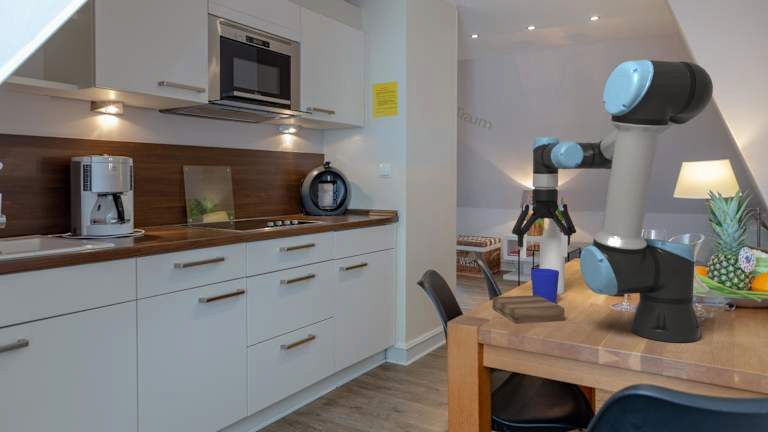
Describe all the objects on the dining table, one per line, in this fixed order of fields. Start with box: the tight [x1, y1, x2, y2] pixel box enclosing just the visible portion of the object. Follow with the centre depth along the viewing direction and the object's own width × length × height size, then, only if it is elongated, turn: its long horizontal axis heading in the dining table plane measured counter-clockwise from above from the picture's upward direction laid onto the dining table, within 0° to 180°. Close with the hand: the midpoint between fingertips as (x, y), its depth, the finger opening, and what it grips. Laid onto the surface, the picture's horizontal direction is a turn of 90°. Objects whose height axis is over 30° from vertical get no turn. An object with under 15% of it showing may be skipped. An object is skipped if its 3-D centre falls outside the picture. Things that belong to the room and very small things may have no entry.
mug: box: [530, 268, 559, 304], centre depth 168 cm, size 8×12×10 cm
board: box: [492, 294, 565, 324], centre depth 153 cm, size 16×14×4 cm
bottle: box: [538, 210, 566, 295], centre depth 181 cm, size 8×8×30 cm
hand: (543, 257), depth 168 cm, fingers open, 13 cm apart
